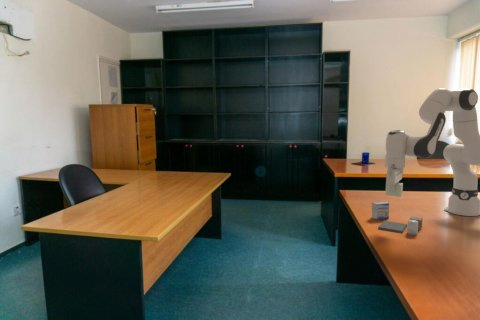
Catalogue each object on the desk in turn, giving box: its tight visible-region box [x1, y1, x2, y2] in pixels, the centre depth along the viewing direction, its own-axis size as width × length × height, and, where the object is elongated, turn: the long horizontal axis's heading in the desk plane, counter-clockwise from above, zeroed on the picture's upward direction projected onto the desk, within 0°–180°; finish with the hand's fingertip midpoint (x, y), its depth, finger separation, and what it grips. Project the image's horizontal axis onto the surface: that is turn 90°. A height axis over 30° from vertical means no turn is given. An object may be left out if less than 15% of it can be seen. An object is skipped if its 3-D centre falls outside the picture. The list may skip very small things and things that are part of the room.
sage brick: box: [385, 182, 404, 197], centre depth 162 cm, size 4×7×6 cm, turn 54°
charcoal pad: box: [378, 220, 408, 234], centre depth 164 cm, size 12×11×1 cm
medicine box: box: [371, 201, 390, 221], centre depth 179 cm, size 8×4×9 cm, turn 105°
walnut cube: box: [409, 215, 423, 231], centre depth 163 cm, size 5×5×5 cm
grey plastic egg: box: [406, 219, 419, 236], centre depth 155 cm, size 4×4×6 cm
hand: (394, 191), depth 162 cm, fingers closed on sage brick, 4 cm apart
